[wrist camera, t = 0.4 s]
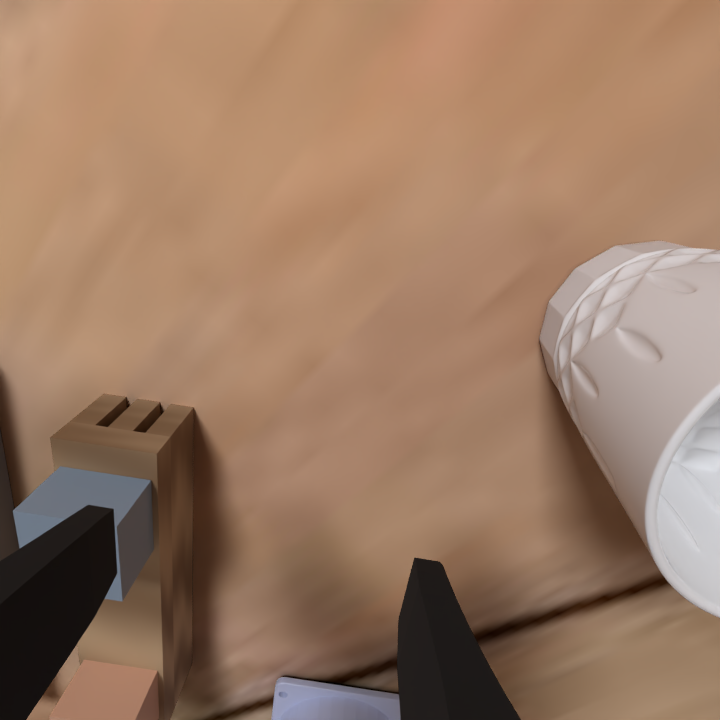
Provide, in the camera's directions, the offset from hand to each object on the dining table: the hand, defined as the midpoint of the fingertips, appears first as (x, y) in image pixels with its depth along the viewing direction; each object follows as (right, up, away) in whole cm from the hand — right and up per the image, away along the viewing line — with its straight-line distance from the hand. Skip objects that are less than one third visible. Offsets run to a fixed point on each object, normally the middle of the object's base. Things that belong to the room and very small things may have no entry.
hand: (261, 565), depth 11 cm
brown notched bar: (-8, -5, +13) cm, 16 cm away
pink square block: (-9, -11, +12) cm, 19 cm away
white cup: (+13, +6, +7) cm, 16 cm away
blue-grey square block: (-8, -1, +8) cm, 11 cm away
